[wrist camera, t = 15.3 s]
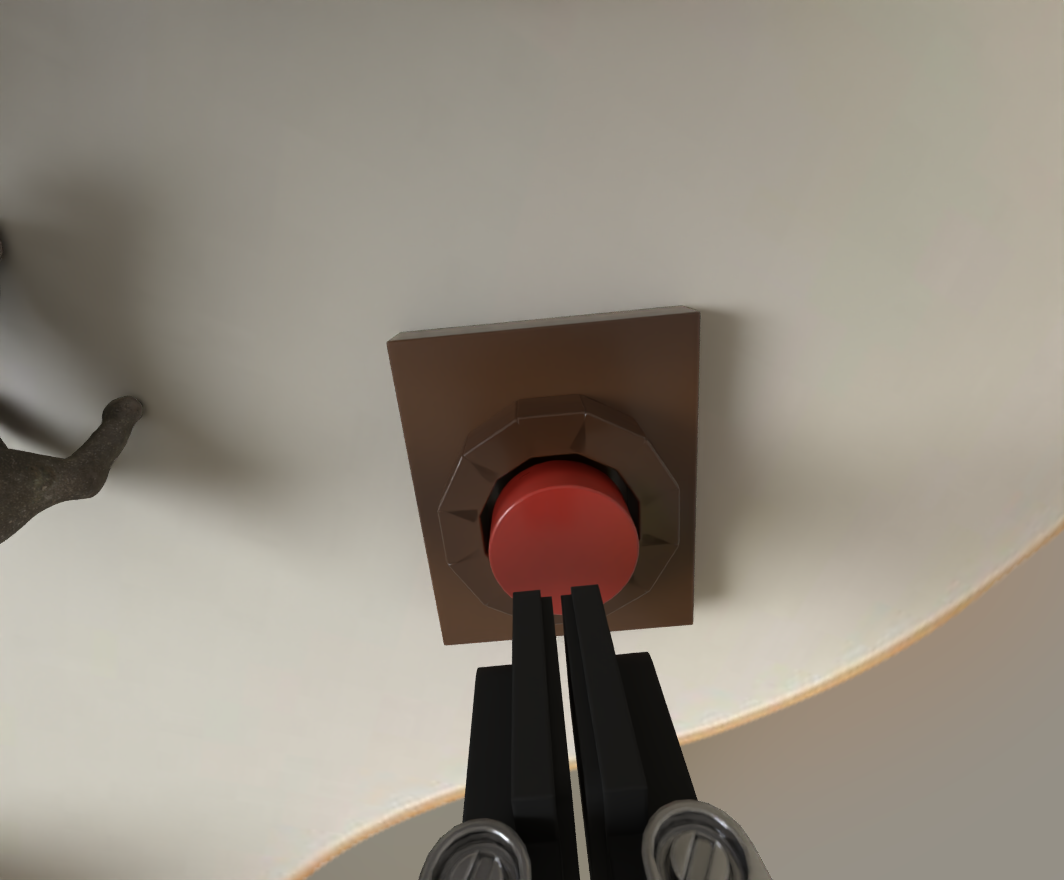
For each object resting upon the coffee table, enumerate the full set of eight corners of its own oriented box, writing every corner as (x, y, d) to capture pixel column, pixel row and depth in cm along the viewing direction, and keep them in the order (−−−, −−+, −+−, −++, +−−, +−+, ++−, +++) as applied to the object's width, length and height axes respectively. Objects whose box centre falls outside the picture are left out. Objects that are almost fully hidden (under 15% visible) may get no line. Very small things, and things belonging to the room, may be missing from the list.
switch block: (398, 332, 16) (367, 353, 13) (683, 305, 16) (725, 320, 13) (449, 615, 20) (435, 686, 17) (680, 595, 20) (711, 663, 17)
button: (484, 465, 15) (479, 493, 13) (625, 452, 14) (638, 478, 13) (500, 583, 16) (497, 622, 14) (628, 572, 16) (641, 609, 14)
